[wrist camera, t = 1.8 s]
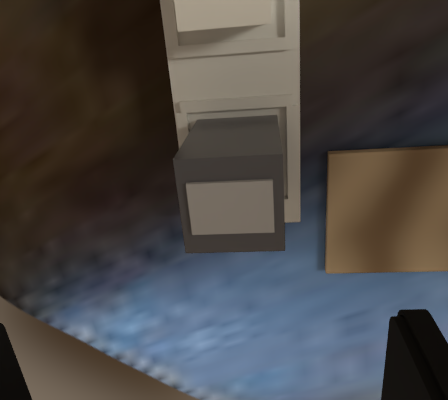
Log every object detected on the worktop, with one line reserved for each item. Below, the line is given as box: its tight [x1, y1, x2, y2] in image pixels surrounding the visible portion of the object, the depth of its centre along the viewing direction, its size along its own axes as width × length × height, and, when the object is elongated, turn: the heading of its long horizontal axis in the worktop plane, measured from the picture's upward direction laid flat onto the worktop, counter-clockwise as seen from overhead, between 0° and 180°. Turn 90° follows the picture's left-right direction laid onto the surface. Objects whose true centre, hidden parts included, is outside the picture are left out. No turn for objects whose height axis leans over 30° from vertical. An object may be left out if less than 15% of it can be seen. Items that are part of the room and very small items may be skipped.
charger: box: [173, 115, 285, 253], centre depth 21 cm, size 4×4×7 cm
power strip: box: [160, 0, 300, 222], centre depth 22 cm, size 18×7×7 cm, turn 5°
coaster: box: [325, 145, 448, 273], centre depth 27 cm, size 9×9×1 cm
